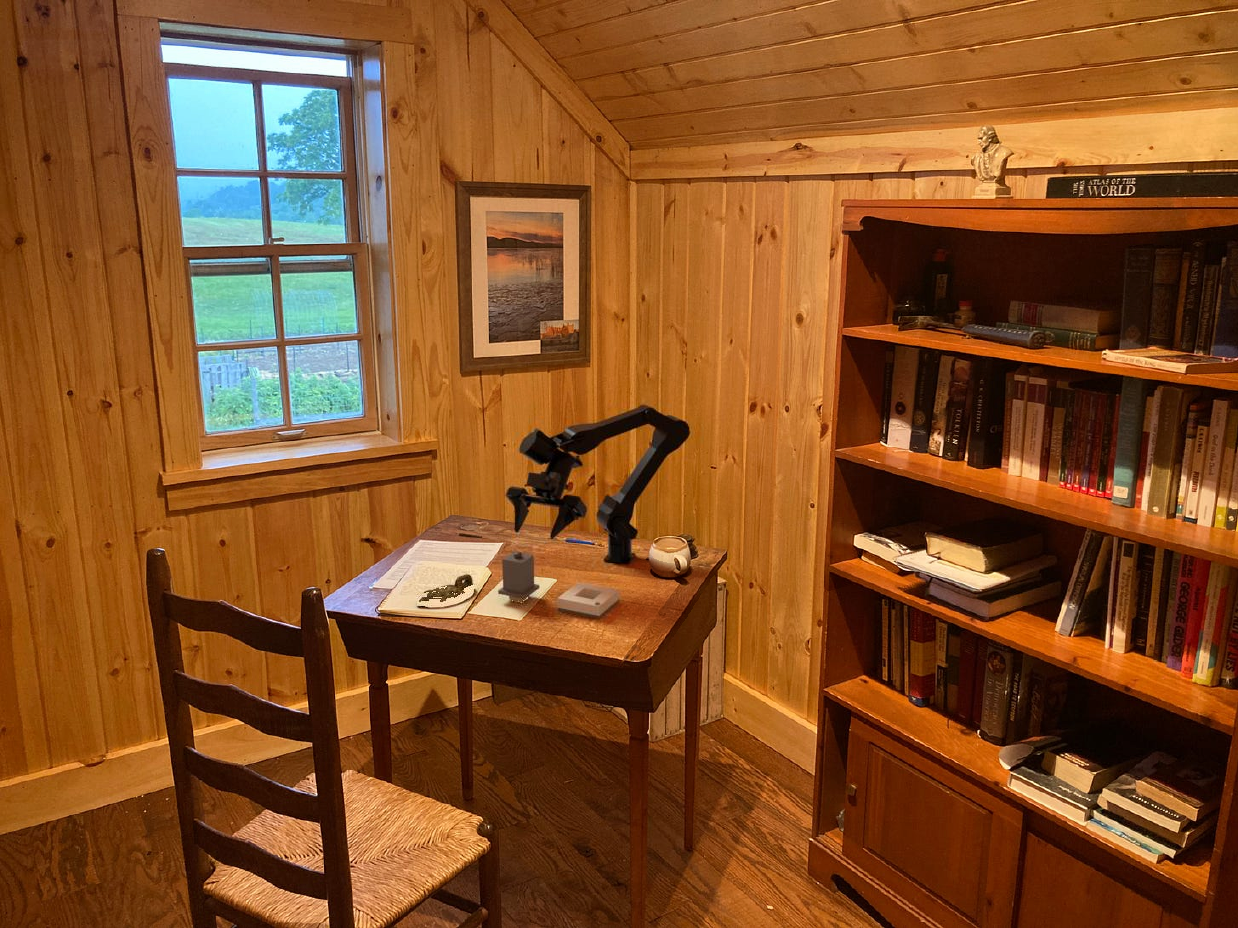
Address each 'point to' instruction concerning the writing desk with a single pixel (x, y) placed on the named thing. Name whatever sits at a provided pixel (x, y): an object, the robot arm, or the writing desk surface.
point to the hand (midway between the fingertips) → (533, 534)
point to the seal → (449, 589)
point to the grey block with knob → (518, 576)
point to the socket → (588, 600)
